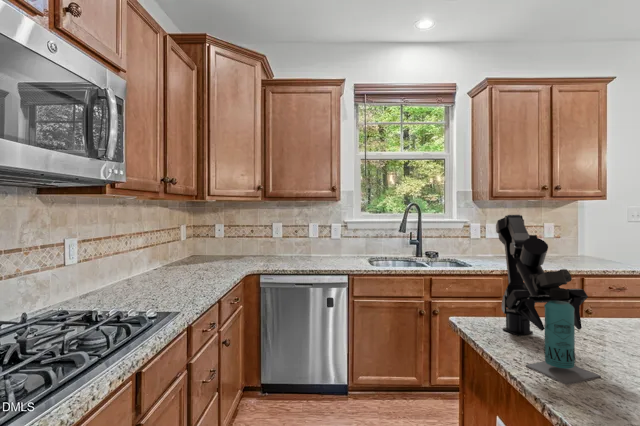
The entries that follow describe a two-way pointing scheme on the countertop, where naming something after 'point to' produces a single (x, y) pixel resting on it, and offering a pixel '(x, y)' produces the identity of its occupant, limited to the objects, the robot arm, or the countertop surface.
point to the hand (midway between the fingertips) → (561, 329)
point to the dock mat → (563, 373)
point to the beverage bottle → (559, 330)
